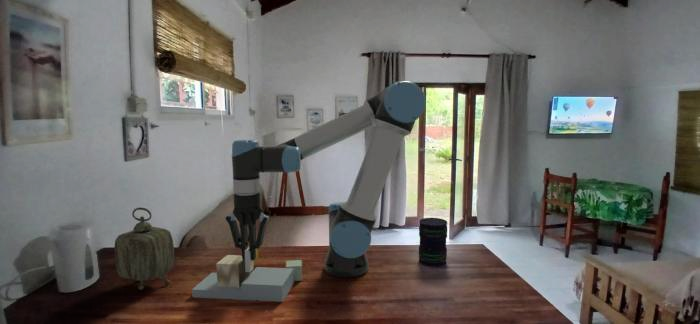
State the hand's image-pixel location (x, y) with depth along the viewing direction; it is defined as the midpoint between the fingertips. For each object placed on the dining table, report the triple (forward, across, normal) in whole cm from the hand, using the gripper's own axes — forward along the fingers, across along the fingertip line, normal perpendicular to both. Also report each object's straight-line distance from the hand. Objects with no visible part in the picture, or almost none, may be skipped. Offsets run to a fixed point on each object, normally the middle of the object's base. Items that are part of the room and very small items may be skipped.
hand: (249, 270), depth 111 cm
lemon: (+7, +7, -18) cm, 21 cm away
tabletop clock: (+7, +33, +1) cm, 34 cm away
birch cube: (+1, +2, 0) cm, 2 cm away
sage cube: (+6, -11, -10) cm, 16 cm away
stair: (+6, +2, 0) cm, 7 cm away
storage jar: (+6, -57, -28) cm, 64 cm away
